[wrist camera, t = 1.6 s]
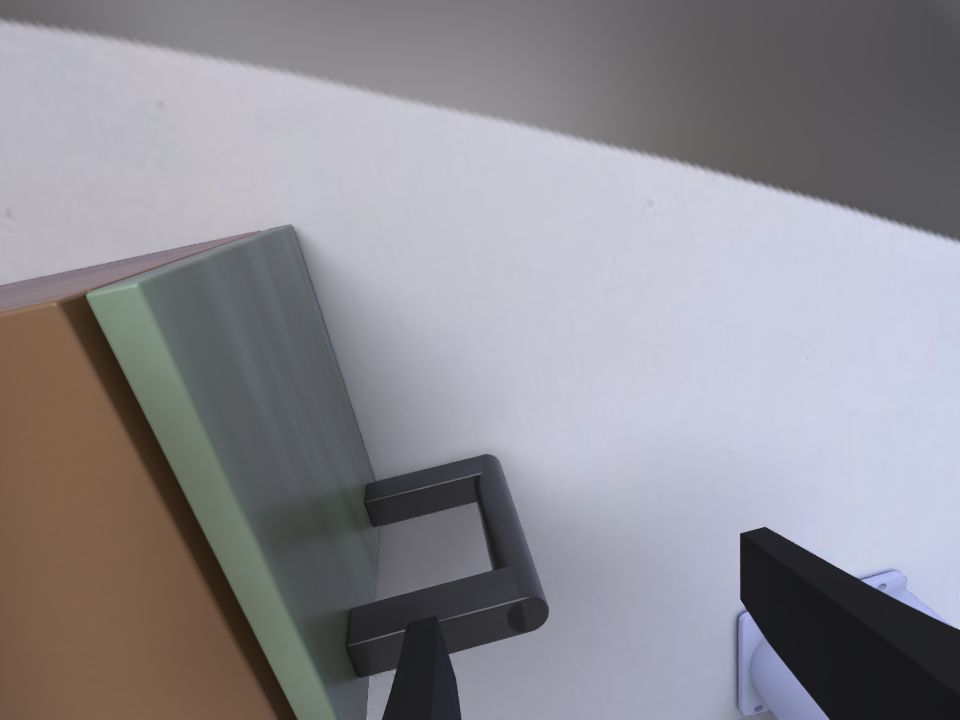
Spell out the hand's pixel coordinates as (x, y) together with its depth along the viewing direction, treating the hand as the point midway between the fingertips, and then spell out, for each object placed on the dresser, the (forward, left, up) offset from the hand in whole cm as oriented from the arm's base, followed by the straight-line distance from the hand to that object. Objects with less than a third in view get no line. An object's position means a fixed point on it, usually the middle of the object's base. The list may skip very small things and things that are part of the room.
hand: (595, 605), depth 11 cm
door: (+4, -3, -10) cm, 11 cm away
